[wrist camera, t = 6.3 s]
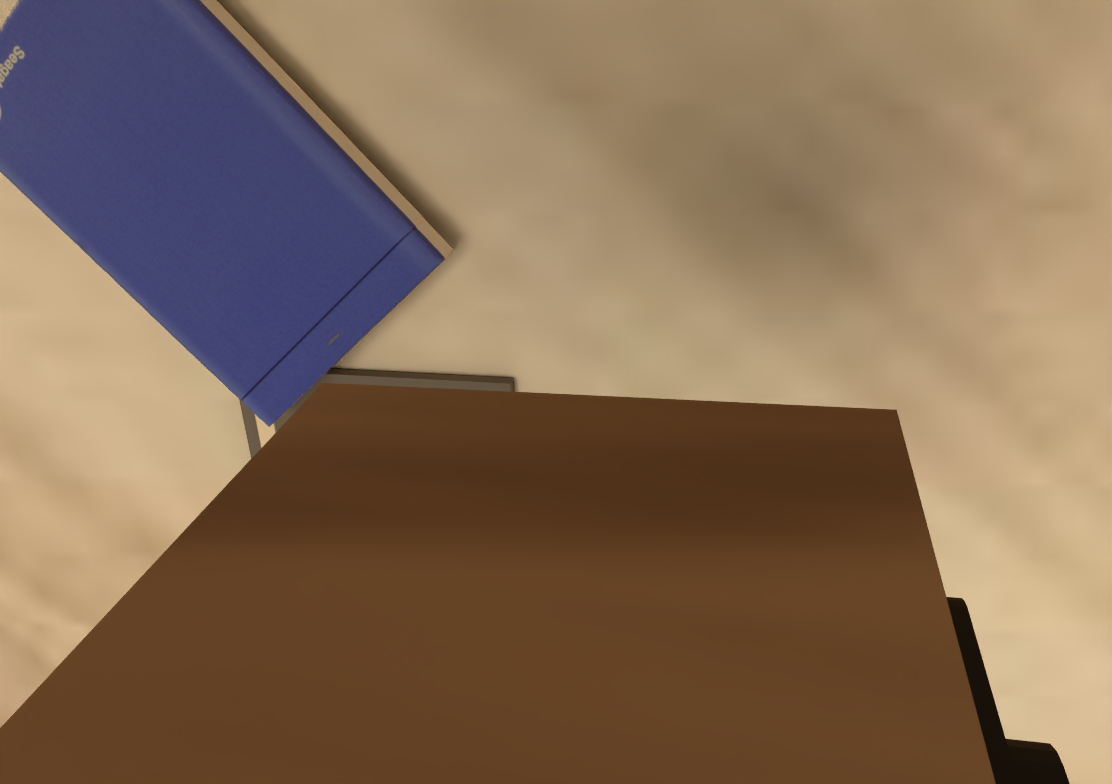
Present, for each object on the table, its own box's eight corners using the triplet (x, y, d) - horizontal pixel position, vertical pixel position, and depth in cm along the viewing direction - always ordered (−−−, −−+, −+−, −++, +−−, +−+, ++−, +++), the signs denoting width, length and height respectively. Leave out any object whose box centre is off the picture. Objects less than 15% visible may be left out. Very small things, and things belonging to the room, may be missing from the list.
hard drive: (-62, 121, 27) (264, 432, 29) (83, -110, 23) (440, 263, 26) (-21, 112, 28) (287, 409, 30) (121, -107, 25) (457, 246, 27)
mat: (239, 363, 30) (231, 370, 30) (513, 378, 29) (509, 384, 28) (306, 695, 37) (300, 705, 36) (534, 723, 35) (531, 733, 35)
